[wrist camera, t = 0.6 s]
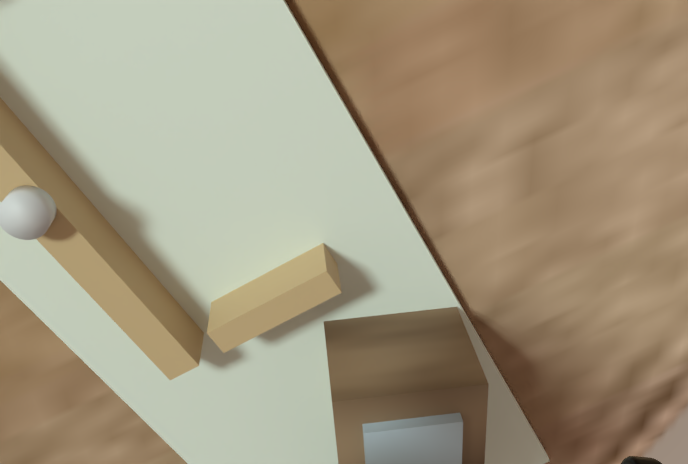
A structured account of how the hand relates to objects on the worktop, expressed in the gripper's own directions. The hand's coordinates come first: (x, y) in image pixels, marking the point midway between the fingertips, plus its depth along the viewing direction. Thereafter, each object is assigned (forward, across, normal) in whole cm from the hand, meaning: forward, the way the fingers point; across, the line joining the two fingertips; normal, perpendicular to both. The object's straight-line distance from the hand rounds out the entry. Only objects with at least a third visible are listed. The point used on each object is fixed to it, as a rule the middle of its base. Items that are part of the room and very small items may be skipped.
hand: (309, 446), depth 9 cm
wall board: (+13, +2, +8) cm, 15 cm away
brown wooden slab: (+12, -5, +13) cm, 19 cm away
